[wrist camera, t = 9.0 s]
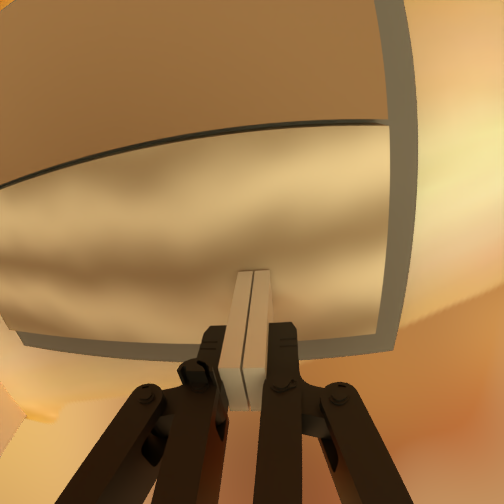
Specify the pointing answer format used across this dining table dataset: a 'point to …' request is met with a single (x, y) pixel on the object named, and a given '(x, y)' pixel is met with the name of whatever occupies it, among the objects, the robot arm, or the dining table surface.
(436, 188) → the dining table surface
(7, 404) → the milk
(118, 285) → the plank
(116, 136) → the floor frame
